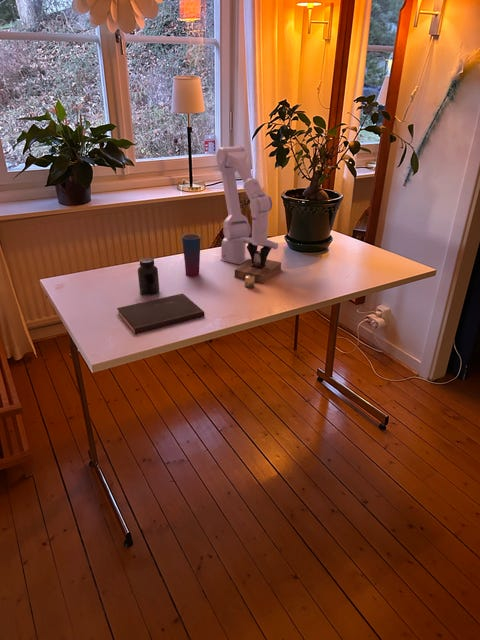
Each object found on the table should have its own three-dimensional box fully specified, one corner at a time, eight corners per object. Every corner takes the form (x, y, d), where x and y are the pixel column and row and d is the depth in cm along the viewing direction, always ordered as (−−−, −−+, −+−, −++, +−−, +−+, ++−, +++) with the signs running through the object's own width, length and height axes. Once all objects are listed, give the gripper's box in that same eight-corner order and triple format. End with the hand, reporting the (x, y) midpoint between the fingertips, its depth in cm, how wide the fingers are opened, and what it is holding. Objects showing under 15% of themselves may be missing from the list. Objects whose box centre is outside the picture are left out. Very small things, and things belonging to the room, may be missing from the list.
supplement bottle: (152, 286, 168) (149, 254, 163) (163, 292, 164) (161, 259, 158) (135, 291, 164) (132, 259, 158) (147, 297, 160) (144, 264, 154)
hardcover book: (117, 314, 150) (116, 307, 149) (183, 299, 161) (182, 293, 160) (135, 336, 138) (134, 329, 137) (204, 318, 149) (204, 311, 148)
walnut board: (234, 276, 177) (234, 269, 176) (253, 263, 190) (254, 256, 188) (263, 283, 172) (263, 276, 171) (280, 269, 185) (281, 262, 183)
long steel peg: (251, 269, 180) (252, 252, 176) (256, 267, 182) (257, 250, 178) (259, 272, 178) (259, 254, 174) (264, 269, 180) (264, 252, 177)
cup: (180, 276, 177) (178, 237, 170) (188, 269, 183) (187, 232, 176) (196, 279, 175) (195, 240, 168) (204, 272, 180) (203, 235, 173)
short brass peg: (243, 287, 169) (243, 277, 167) (247, 284, 172) (247, 274, 170) (251, 289, 168) (251, 279, 166) (255, 286, 170) (256, 275, 168)
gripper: (237, 228, 173) (236, 263, 179) (273, 235, 167) (271, 270, 173) (246, 224, 178) (245, 257, 184) (281, 230, 172) (279, 264, 178)
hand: (258, 263), depth 179 cm, fingers closed on long steel peg, 3 cm apart
